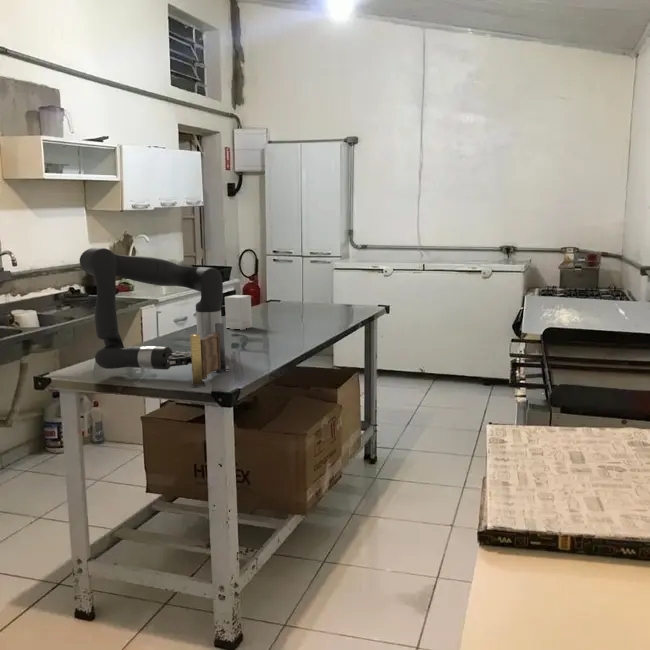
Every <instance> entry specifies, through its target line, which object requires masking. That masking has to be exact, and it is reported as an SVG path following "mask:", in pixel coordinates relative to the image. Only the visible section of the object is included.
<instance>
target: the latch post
mask: <svg viewBox="0 0 650 650" xmlns="http://www.w3.org/2000/svg"><path fill="white" fill-rule="evenodd" d="M189 337H190V338H189V339H190V341H189V342H190V352H191V359H192V364H191V375H192V381H191V382H190V387H191V386H204V387H205V385H206V384H205V380H203V379H202V362H201V343H200V334H197V333H196V334H195V333H193V334H190V335H189Z"/></svg>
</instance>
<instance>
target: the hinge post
mask: <svg viewBox="0 0 650 650" xmlns="http://www.w3.org/2000/svg"><path fill="white" fill-rule="evenodd" d="M215 332H219V336H220V357H221V369H217V370H215V371H224V372H227V371H226V370H230V371H231V369H230V366H229V365H227V364H226V345H225V344H226V343H225V342H226V341H225V325H224V322H222V323H216V324H215Z"/></svg>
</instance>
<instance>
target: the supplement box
mask: <svg viewBox="0 0 650 650" xmlns="http://www.w3.org/2000/svg"><path fill="white" fill-rule="evenodd" d="M224 310H225V327H226V328H230V329H229V330H234V329H240V330H239V331H243V330H247V329H250V328H253V316H252V295H248V294H247V295H246V294H245V295H243V294H232V295H227V296H224ZM226 328H225V329H226ZM246 328H247V329H246Z"/></svg>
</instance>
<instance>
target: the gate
mask: <svg viewBox="0 0 650 650" xmlns="http://www.w3.org/2000/svg"><path fill="white" fill-rule="evenodd" d="M200 343H201V362H202V380H206V379H207V378H208V375H210V374H211V373H213V372H214V371H215V370H217V369H221V357H220V336H219V332H214V333H212V334H210V335H208V336H206V337H204V338H201V339H200Z"/></svg>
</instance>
